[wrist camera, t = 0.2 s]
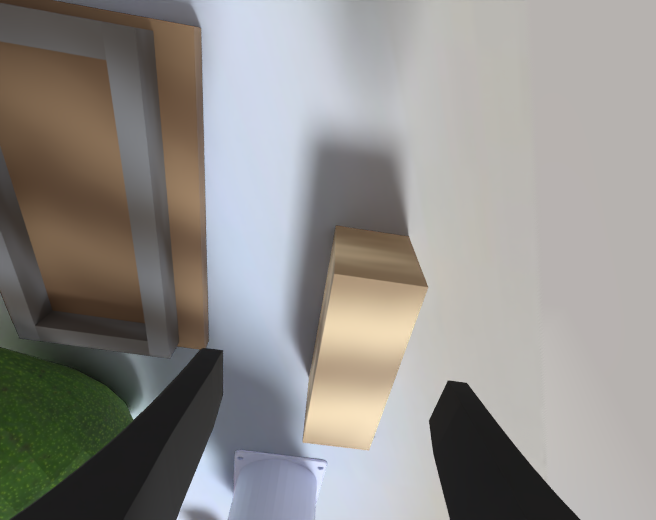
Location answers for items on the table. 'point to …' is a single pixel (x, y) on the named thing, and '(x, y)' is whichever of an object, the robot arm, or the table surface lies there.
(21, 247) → the channel
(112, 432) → the fruit
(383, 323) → the wooden block
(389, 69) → the table surface
